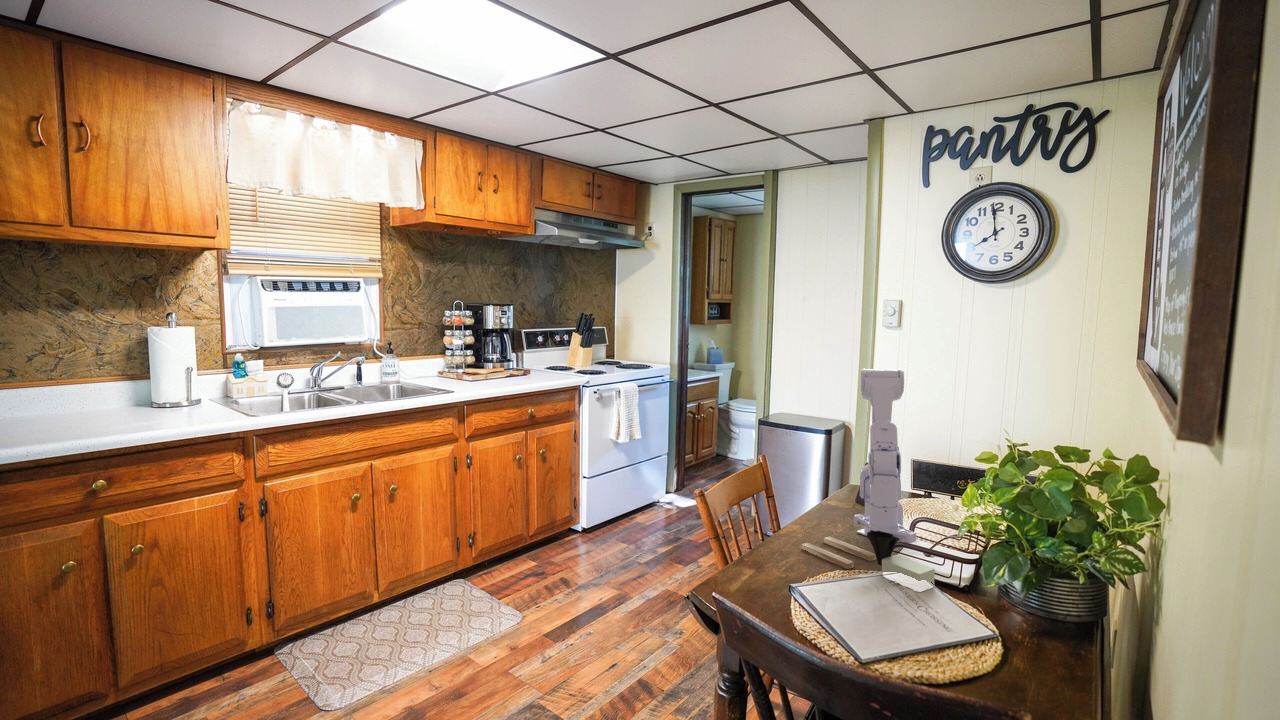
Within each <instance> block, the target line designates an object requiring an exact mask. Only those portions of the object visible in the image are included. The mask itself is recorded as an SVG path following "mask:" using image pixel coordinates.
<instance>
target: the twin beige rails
mask: <svg viewBox="0 0 1280 720" xmlns="http://www.w3.org/2000/svg"><path fill="white" fill-rule="evenodd" d="M823 543H824V544H827V545H829V546H831V547H833V548H836V549H839V550H842V551H844V552H847V553H850V554H851V555H854V556H856V557H859V558H862V559H864V560H867V561H869V562H874V561H877V559H876V555H875V552H874V553H873V552H871V551H868V550H865V549H863V548H861V547H859V546H856V545H854V544H850V543H848V542H845V541H843V540H840V539H837V538H835V537H832V536H826V537H823ZM801 550H803V551H805V550H806V552H807V551H808V552H807V553H810V554H812V555H814V556H816V555H817V557H819V558H821V559H824V560H825V561H828V562H831V563H833V564H834V565H835V564H836V565H837V566H839V567H842V568H844V569H847V570H849V569H852V568H854V567H855V562H854V561H852V560H850V559H847V558H845V557H843V556H840V555H838V554H837V553H836V554H835V553H834V552H831V551H829V550H826V549H824V548H821V547H819V546H817V545H814V544H812V543H809V542H806V543H802V544H801Z"/></svg>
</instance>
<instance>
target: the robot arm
mask: <svg viewBox="0 0 1280 720" xmlns="http://www.w3.org/2000/svg"><path fill="white" fill-rule="evenodd" d="M904 372H905V371H904V370H903V369H901V368H899V369H890V368H889V369H885V368H884V369H883V368H882V369H881V368H880V369H878V368H877V369H876V368H875V369H873V368H872V369H871V368H870V369H869V368H867V369H866V368H862V369H861V370H860V393H861V396H862V399H864V400H868V401H869V403H870V405H871V412H872V413H871V423H872V424H871V425H870V428H869V433H870V435H869V436H870V437H869V439H870V440H869V441H870V442H869V444H870V445H869V447H870V451H868V456H867V457H868V458H867V459H868V464H867V465H866V466H865V465H864V466H863V467H862V468H861V469H860V476H859V487H860V497H861V498H864V491H865V506H864V514H862V513H859V514H855V515H853V524H854V525H857V526H858V525H860V526H864V528H861V529H859V530H856V532H857V533H858V534H860V535H863V536H865V537H867V538H868V540H869V541H870V544H871V545H872V548H873V551H874V554H875V555H876V562H877V565H878V566H880V567H882V559H884V558H887V557H890V556H892V552H893V551H894V548H895V546H896V545H897V543H898V542H899V541H900V540H904V541H906V543H907V544H912V543H916V542H917V532H915V531H912V530H910V529H908V528H907V527H905V526H904V511H903V510H904V509H903V506H902V504H901V502H900V500H901V499H902V480H901V472H902V455H901V451H900V446H898V445H899V444H898V443H899V442H898V439H899V438H898V427H897V425H896V424H895V423H893V422H892V416H893V415H892V414H893V413H892V411H893V402H895V401H898V400H901V397H902V396H903V393H904V391H905V389H904V388H905V373H904ZM864 480H865V482H864Z"/></svg>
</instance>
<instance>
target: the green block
mask: <svg viewBox="0 0 1280 720" xmlns="http://www.w3.org/2000/svg"><path fill="white" fill-rule="evenodd" d="M935 570H936V569H935V568H934V567H931V566H929V565H926V564H923V563H921V562H918V561H916V560H913V559H910V558H907V557H905V556H902V555H899V554H893V555H891V556H890V557H887V558H884V559H882V566H881V573H882V572H897V573H902V574H904V575H907V576H910V577H912V578H915V579H916V580H918V581H921V580H927V581H929V582H932V583H933V584H934V585H935V573H936V572H935Z"/></svg>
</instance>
